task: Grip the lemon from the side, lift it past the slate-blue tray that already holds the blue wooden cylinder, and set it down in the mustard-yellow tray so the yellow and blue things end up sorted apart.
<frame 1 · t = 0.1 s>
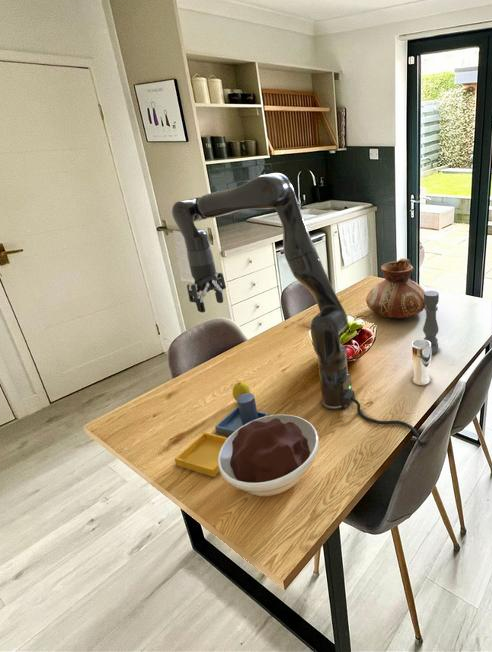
hand: (211, 307, 136), 29 cm above the table, tool pointing down, fingers open, 8 cm apart
silver metal cylinder: (421, 380, 143), on the table
blue cylinder: (250, 421, 124), resting on blue tray
white serving bowl: (274, 473, 105), on the table
lemon: (243, 402, 134), on the table
painted clay pot: (396, 312, 198), on the table
grey pepper mill: (430, 350, 162), on the table
yellow tray: (210, 456, 112), on the table
blue tray: (243, 426, 123), on the table
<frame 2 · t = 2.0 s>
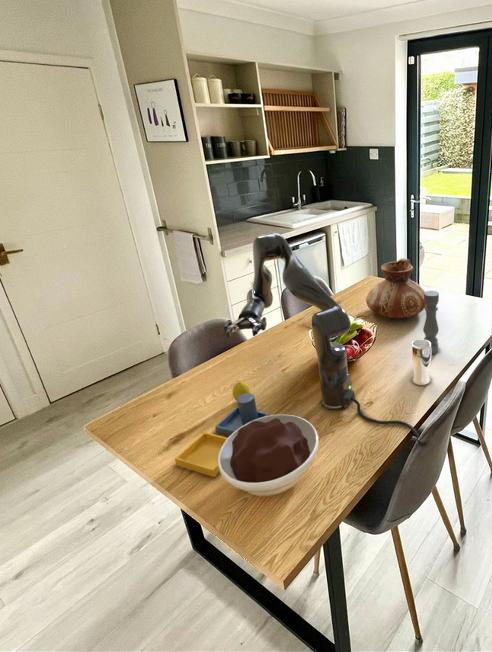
hand: (241, 334, 137), 20 cm above the table, tool horizontal, fingers open, 8 cm apart
nothing on the table moved.
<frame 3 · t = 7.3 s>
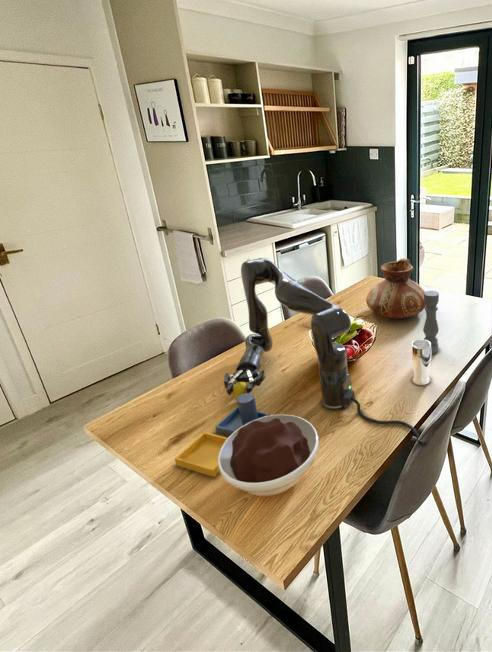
hand: (238, 391, 130), 6 cm above the table, tool horizontal, fingers closed on lemon, 5 cm apart
lemon: (243, 402, 134), on the table, touching gripper
everything else where it was.
when the fingers open (6 cm above the table, at t = 17.2 s): lemon stays where it is, resting on yellow tray.
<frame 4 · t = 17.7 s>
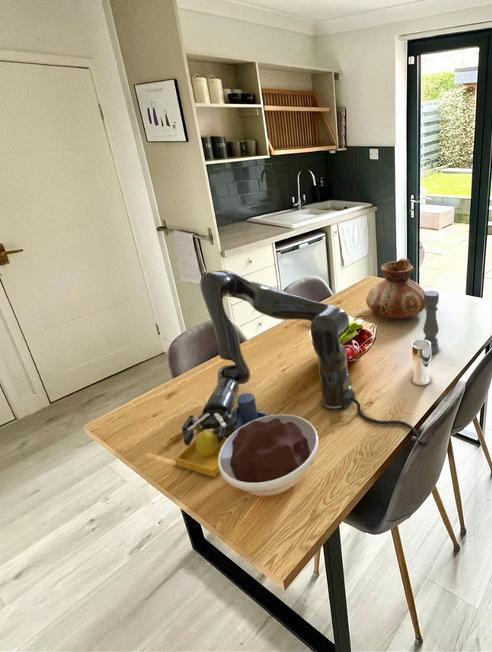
hand: (202, 441, 107), 7 cm above the table, tool horizontal, fingers open, 8 cm apart
lemon: (209, 455, 112), resting on yellow tray
everything else where it was.
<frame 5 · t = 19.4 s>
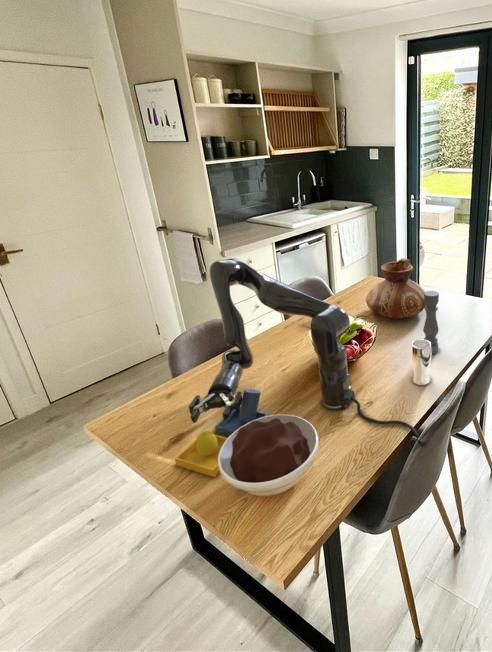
hand: (208, 418, 112), 9 cm above the table, tool horizontal, fingers open, 8 cm apart
blue cylinder: (246, 419, 123), point 2 cm above the table, tilted 29°, touching blue tray
everything else where it was.
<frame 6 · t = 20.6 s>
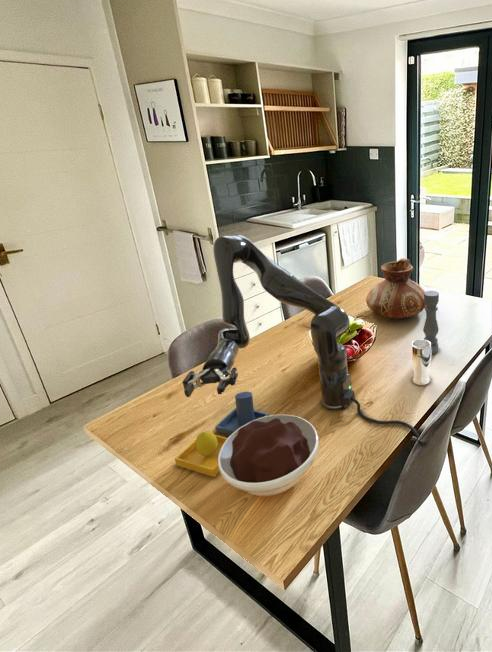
hand: (203, 393, 109), 18 cm above the table, tool horizontal, fingers open, 8 cm apart
blue cylinder: (246, 422, 123), point 1 cm above the table, tilted 12°, touching blue tray
everything else where it was.
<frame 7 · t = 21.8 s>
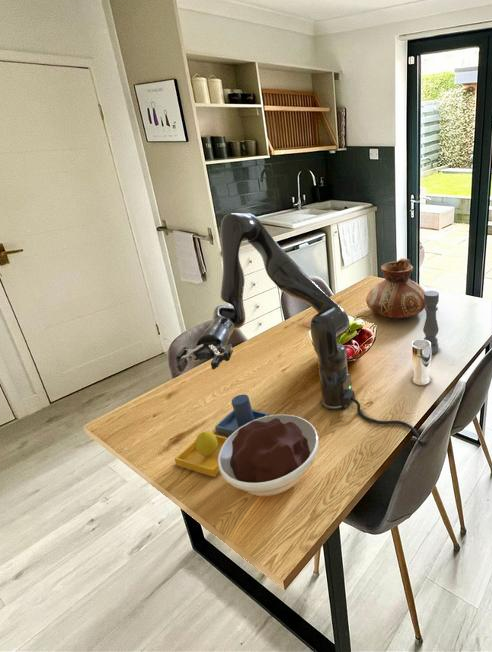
hand: (196, 367, 106), 26 cm above the table, tool horizontal, fingers open, 8 cm apart
blue cylinder: (246, 423, 124), point 1 cm above the table, touching blue tray
everything else where it was.
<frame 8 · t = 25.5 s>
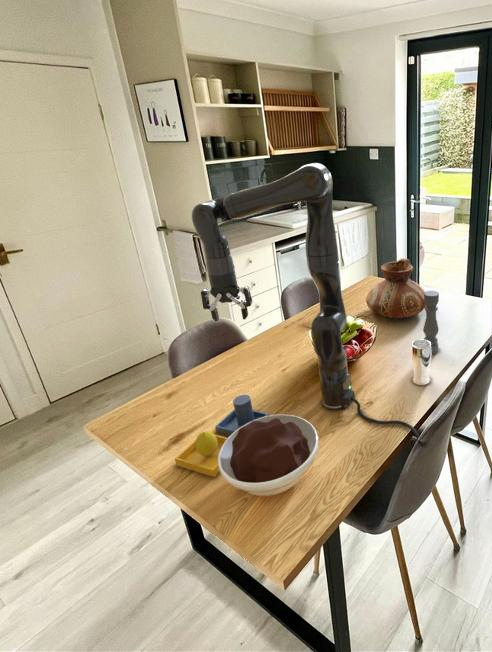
hand: (231, 319, 124), 30 cm above the table, tool pointing down, fingers open, 8 cm apart
nothing on the table moved.
at the end: lemon inside the target area in the yellow tray (0.1 cm from its centre), point 0.2 cm above the yellow tray's base; the gripper is holding nothing; blue cylinder inside the target area in the blue tray (1.0 cm from its centre), point 0.4 cm above the blue tray's base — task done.
